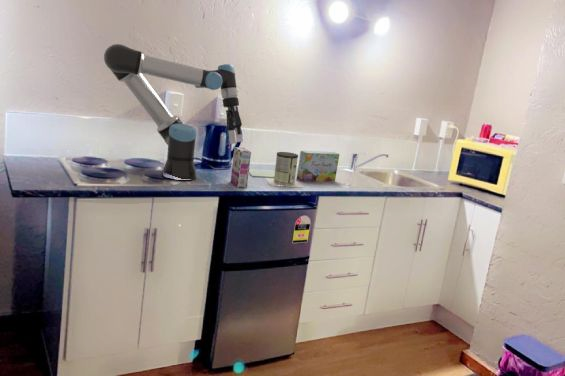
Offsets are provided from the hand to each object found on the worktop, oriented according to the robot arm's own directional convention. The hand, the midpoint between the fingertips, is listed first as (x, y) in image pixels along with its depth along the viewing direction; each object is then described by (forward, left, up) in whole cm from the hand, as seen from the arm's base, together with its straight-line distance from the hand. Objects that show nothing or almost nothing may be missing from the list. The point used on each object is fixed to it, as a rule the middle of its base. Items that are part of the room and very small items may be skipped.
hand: (236, 142), depth 233 cm
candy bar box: (0, -17, -17) cm, 24 cm away
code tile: (+24, -7, -17) cm, 30 cm away
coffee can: (+24, -7, -17) cm, 30 cm away
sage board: (+18, +10, -17) cm, 27 cm away
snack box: (+44, +3, -17) cm, 47 cm away
